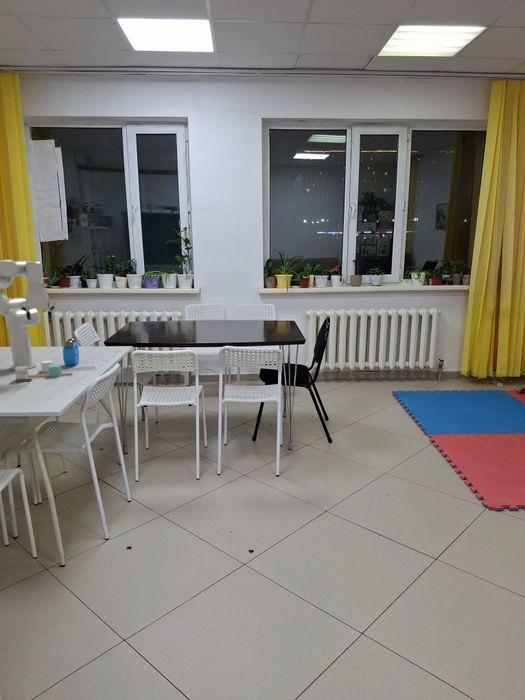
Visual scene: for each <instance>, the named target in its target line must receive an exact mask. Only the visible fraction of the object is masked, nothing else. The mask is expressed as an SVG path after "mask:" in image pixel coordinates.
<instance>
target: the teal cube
mask: <svg viewBox="0 0 525 700" xmlns="http://www.w3.org/2000/svg"><path fill="white" fill-rule="evenodd" d="M61 368H62V364H53V365H50V366H49V373H48V374H49V376H50V377H52V378H59V377H58V376H61V374H62V373H63V372H62V370H61Z"/></svg>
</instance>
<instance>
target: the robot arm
mask: <svg viewBox="0 0 525 700" xmlns="http://www.w3.org/2000/svg"><path fill="white" fill-rule="evenodd" d="M22 276H23V277H25V276H26V283H27V289H26V292H25V293H26V294H25V296H26V297H25V298H24V297H13V298H12V297H8V296H6V295H5V293H3V292H1V291H0V314H1V315H2V316H3V317H4V320H5V321H4V322H5V324H6V327H7V331H8V336H9V342H10V351H11V358H12V364H11V365H10V370H13V371H14V370H15V369H16V368H17V367H25V366H27V368H28V370H29V369H32V368H33V369H34V368H35V367H36V366H37V363H36V362H33V355H32V354H33V353H32V347H31V339H30V334H29V332H28V331H27V330H26V329H25V328H26V327H32V326H36V325H38V324H39V323H41V314H40V312H39V311H38V310H39V309H46V310H47V317H48V320H51V319H52V318H53V312H52V311H53V310H54V309H55V307H56V306H57V302H55V301H53V300H51V299H49V293H48V289H47V288H45V287H48V283H45V280H44V274H43V264H42V262H41V261H34V260H13V259H0V290H2V289H7V288H9V287H10V286H11V285H12V282H13V280H14V279H15V277H22ZM50 304H51V305H52V306H51V307H50ZM37 309H38V310H37Z"/></svg>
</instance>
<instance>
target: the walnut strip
mask: <svg viewBox="0 0 525 700" xmlns="http://www.w3.org/2000/svg"><path fill="white" fill-rule="evenodd" d="M74 372H75V371H71V372H62V374H61V376H58V377H57V378H62V377H63V378H64V377H65V378H66V377H72V376H73V374H74ZM49 378H51V379H52V378H53V377H50V376H49V373H41V374H32V375H31V374H30V375H29V369H28V368H27V366H25V367H17V368H16V369H15V379H14V381H15V382H16V383H19V382H31V381H32V380H34V379H35V380H36V379H49Z"/></svg>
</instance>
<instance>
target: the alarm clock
mask: <svg viewBox="0 0 525 700" xmlns="http://www.w3.org/2000/svg"><path fill="white" fill-rule="evenodd" d="M62 346H63V347H62V358H63V364H64V365H65V366H67V367H69V366H78V365H79V362H80V349H79V345H78V342H77V340H76V339H74V338H68V339H67V340H66V341H65V342H64V344H63V345H62Z"/></svg>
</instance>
